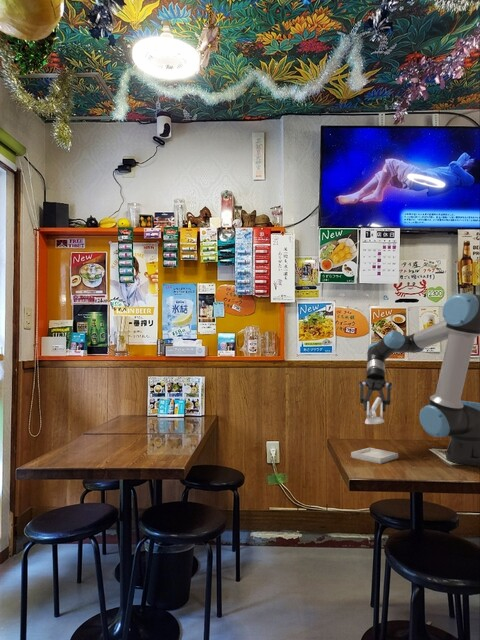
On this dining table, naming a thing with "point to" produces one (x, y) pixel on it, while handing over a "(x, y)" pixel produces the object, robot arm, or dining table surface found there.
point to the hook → (374, 414)
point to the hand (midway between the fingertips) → (374, 416)
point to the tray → (374, 455)
